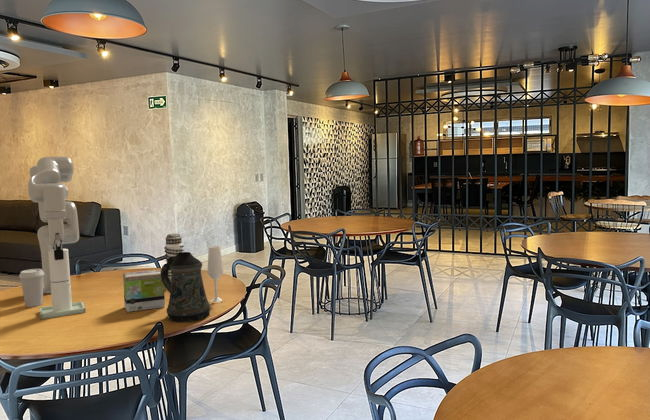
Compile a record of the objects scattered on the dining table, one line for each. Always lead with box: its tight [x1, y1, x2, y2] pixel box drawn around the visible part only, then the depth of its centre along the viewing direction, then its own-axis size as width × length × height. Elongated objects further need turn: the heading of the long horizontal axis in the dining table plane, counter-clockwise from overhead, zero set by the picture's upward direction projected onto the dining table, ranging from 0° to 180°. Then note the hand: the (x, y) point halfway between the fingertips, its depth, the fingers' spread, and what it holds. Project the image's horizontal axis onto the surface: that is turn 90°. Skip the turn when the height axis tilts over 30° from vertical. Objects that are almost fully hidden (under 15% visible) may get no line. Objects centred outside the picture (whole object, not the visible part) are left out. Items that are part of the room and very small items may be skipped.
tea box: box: [122, 269, 166, 313], centre depth 208 cm, size 15×10×15 cm
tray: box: [39, 300, 86, 320], centre depth 204 cm, size 12×16×2 cm
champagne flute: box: [206, 245, 224, 302], centre depth 214 cm, size 7×7×24 cm
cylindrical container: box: [48, 248, 73, 312], centre depth 203 cm, size 7×7×25 cm
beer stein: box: [160, 251, 211, 323], centre depth 194 cm, size 16×19×25 cm
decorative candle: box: [164, 233, 185, 281], centre depth 247 cm, size 9×9×25 cm
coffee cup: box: [18, 268, 45, 308], centre depth 215 cm, size 10×10×15 cm
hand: (58, 257), depth 202 cm, fingers open, 8 cm apart
